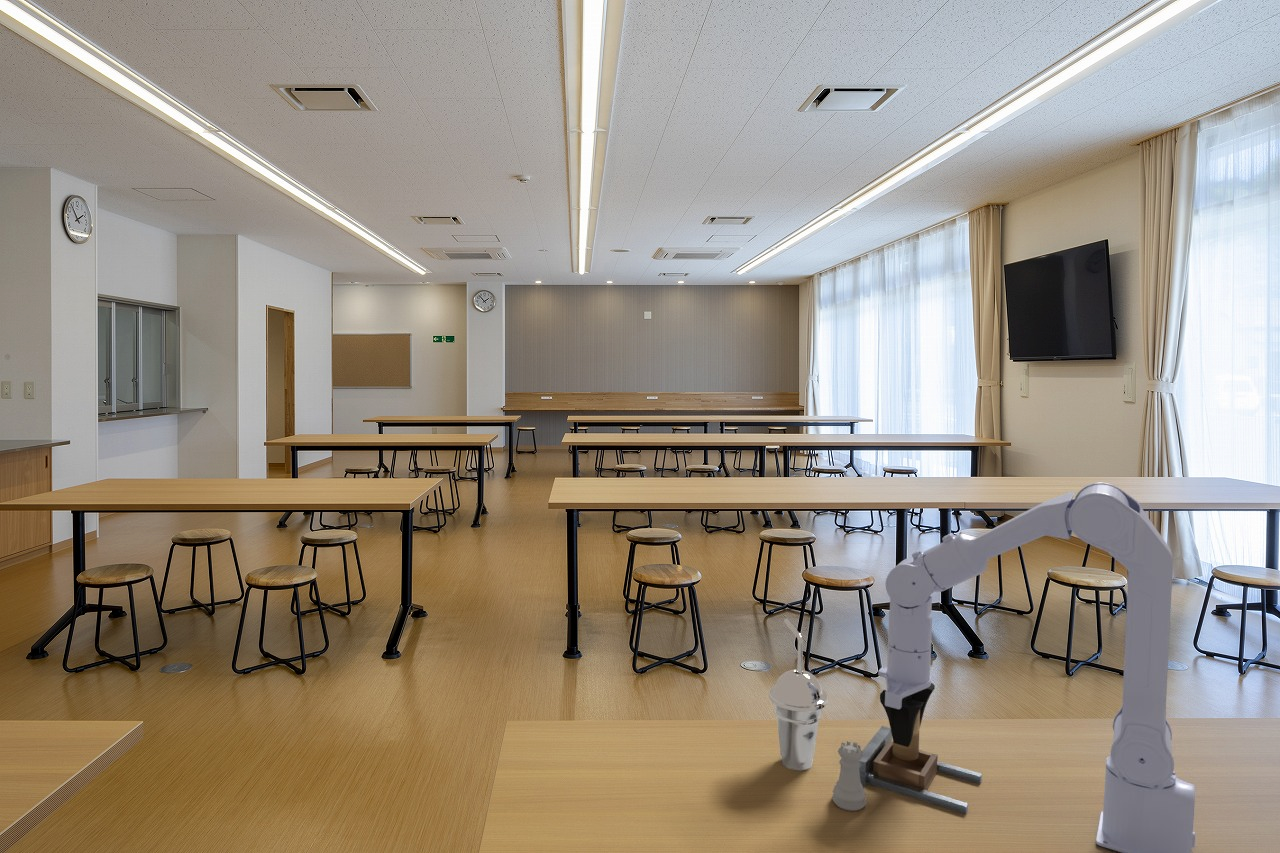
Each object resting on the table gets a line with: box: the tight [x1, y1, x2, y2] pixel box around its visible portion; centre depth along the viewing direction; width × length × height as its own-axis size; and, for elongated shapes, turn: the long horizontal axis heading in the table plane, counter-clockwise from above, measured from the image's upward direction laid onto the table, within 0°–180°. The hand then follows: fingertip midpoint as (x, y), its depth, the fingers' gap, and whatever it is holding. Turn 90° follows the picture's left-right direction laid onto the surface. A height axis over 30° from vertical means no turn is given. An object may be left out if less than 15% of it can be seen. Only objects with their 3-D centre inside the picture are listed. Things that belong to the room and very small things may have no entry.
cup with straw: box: [768, 618, 829, 771], centre depth 115 cm, size 8×9×20 cm
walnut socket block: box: [873, 741, 939, 791], centre depth 112 cm, size 7×7×3 cm
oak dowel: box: [892, 710, 921, 761], centre depth 112 cm, size 4×4×8 cm
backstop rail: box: [859, 725, 983, 815], centre depth 111 cm, size 14×12×4 cm
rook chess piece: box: [831, 740, 867, 812], centre depth 105 cm, size 4×4×8 cm
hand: (905, 738), depth 112 cm, fingers closed on oak dowel, 3 cm apart
